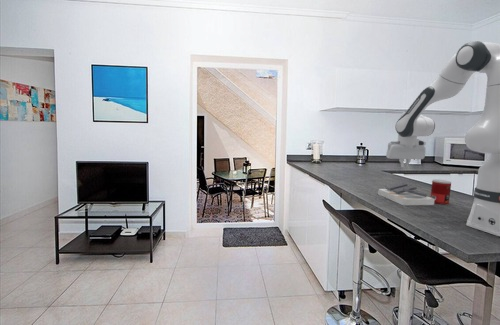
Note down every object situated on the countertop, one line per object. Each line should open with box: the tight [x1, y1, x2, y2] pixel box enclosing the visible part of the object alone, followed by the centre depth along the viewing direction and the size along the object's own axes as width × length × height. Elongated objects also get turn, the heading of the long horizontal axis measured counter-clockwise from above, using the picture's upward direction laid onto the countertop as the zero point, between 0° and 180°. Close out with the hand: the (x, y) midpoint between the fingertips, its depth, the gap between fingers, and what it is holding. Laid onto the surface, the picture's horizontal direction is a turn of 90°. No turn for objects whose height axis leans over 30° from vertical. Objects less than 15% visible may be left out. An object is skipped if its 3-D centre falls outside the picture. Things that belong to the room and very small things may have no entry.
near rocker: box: [403, 188, 428, 197], centre depth 142 cm, size 4×10×1 cm, turn 96°
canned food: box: [430, 179, 452, 205], centre depth 145 cm, size 8×8×11 cm
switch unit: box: [377, 188, 435, 206], centre depth 150 cm, size 22×16×3 cm
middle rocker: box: [393, 184, 417, 194], centre depth 149 cm, size 4×10×1 cm, turn 96°
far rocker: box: [384, 182, 409, 191], centre depth 156 cm, size 4×10×1 cm, turn 96°
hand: (404, 167), depth 155 cm, fingers closed
